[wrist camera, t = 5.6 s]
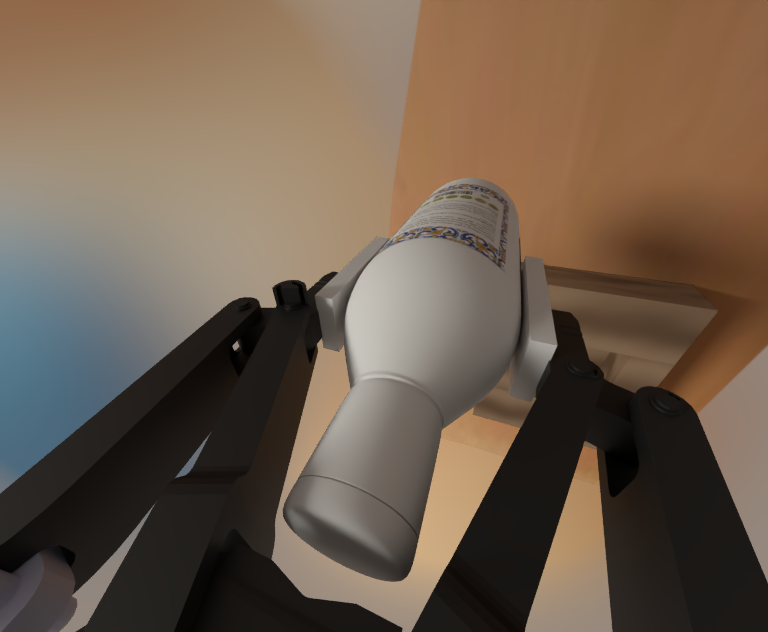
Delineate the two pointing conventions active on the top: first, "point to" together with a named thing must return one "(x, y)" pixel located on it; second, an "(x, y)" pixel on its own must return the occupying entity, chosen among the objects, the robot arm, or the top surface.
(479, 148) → the top surface
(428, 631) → the robot arm
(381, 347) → the bath foam
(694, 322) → the walnut holder
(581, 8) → the top surface
